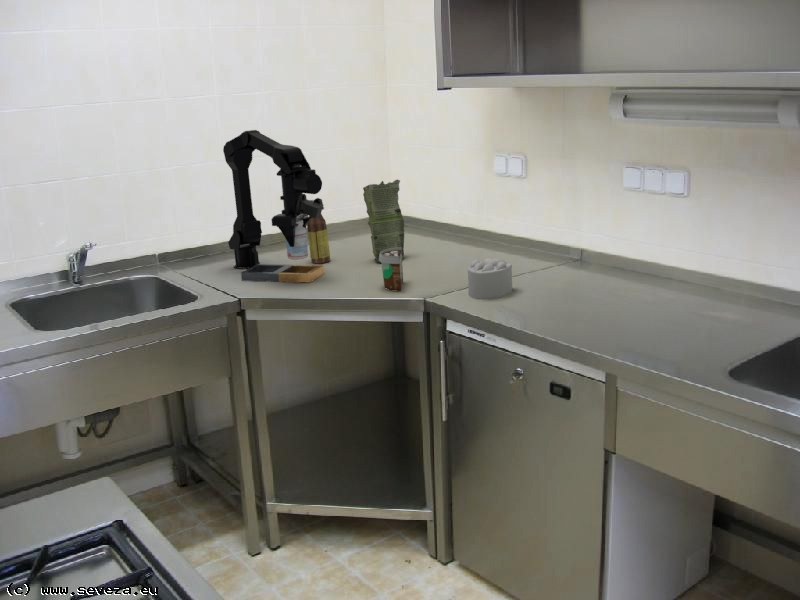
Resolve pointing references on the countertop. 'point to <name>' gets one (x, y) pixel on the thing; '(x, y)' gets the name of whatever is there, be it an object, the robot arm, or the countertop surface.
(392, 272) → the food container
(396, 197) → the pouch
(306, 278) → the metal frame
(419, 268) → the countertop surface
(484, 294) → the lumpy-topped squat cylinder
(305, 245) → the pill bottle
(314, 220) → the sauce bottle
